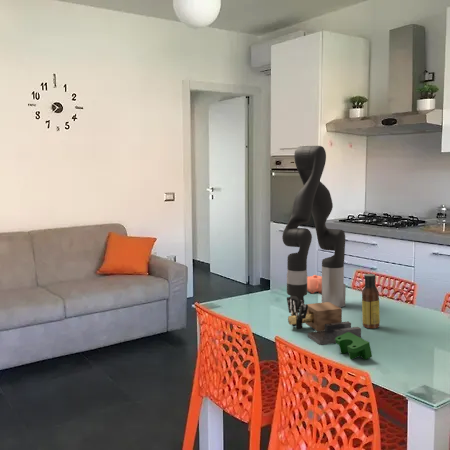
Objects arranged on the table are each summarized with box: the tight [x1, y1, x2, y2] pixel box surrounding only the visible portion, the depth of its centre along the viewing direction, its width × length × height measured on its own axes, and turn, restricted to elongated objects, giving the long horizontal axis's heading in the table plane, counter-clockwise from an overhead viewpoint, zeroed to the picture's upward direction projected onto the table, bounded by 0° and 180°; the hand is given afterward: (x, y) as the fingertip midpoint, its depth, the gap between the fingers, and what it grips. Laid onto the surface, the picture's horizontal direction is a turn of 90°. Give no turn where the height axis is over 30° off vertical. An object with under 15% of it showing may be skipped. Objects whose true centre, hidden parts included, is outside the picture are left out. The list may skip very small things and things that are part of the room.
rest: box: [307, 321, 362, 346], centre depth 183 cm, size 16×9×4 cm, turn 107°
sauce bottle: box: [361, 273, 381, 330], centre depth 194 cm, size 7×6×20 cm
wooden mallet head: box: [304, 302, 343, 332], centre depth 196 cm, size 10×10×8 cm
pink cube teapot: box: [307, 274, 322, 295], centre depth 249 cm, size 8×12×8 cm, turn 13°
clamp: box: [335, 332, 373, 361], centre depth 166 cm, size 12×6×9 cm, turn 14°
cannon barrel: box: [287, 313, 314, 326], centre depth 195 cm, size 16×3×3 cm, turn 107°
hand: (297, 326), depth 194 cm, fingers closed on cannon barrel, 3 cm apart
